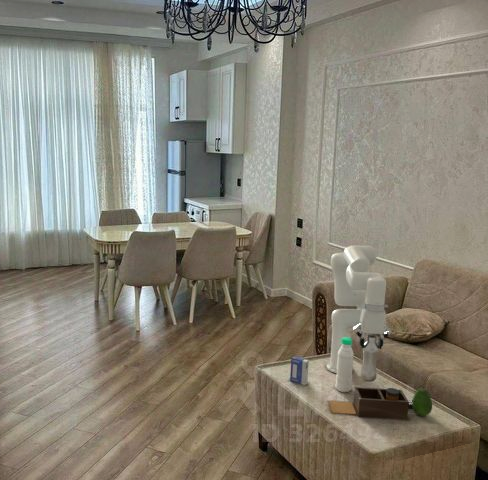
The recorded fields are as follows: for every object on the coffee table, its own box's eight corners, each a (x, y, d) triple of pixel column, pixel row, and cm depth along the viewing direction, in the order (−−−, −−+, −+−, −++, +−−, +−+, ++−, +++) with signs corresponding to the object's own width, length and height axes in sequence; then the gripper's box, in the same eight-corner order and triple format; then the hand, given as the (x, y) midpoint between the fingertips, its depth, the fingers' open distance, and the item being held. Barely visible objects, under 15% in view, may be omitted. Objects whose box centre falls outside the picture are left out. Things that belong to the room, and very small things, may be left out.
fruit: (435, 419, 226) (438, 393, 223) (417, 420, 224) (420, 394, 222) (424, 409, 233) (427, 384, 231) (407, 411, 232) (410, 385, 230)
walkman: (290, 380, 259) (291, 357, 257) (292, 378, 261) (293, 355, 259) (305, 385, 255) (306, 361, 252) (307, 383, 257) (309, 359, 255)
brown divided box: (353, 403, 238) (354, 386, 236) (399, 406, 236) (401, 389, 234) (358, 416, 227) (359, 399, 226) (407, 419, 225) (409, 402, 224)
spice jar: (383, 408, 234) (385, 387, 232) (395, 409, 233) (397, 388, 231) (386, 414, 229) (388, 393, 227) (398, 415, 228) (400, 393, 226)
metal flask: (379, 383, 227) (383, 338, 223) (364, 384, 226) (368, 339, 222) (371, 376, 234) (375, 332, 229) (356, 377, 233) (360, 333, 228)
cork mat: (328, 401, 240) (328, 400, 239) (351, 403, 239) (351, 402, 238) (332, 413, 230) (332, 412, 230) (356, 414, 229) (356, 413, 229)
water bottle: (351, 393, 247) (355, 342, 242) (335, 391, 249) (339, 340, 244) (350, 386, 254) (354, 336, 249) (334, 384, 255) (338, 335, 250)
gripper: (393, 304, 226) (389, 344, 230) (351, 303, 227) (348, 342, 231) (398, 311, 219) (394, 352, 222) (354, 309, 220) (351, 350, 224)
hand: (370, 347), depth 227 cm, fingers closed on metal flask, 6 cm apart
